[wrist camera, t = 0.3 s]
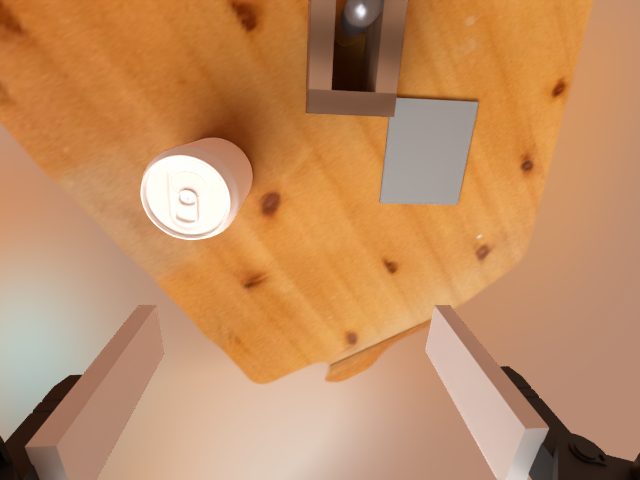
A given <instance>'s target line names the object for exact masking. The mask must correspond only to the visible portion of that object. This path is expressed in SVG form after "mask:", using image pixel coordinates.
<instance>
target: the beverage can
mask: <svg viewBox="0 0 640 480" xmlns="http://www.w3.org/2000/svg"><path fill="white" fill-rule="evenodd" d="M252 180H253V173H252V168H251V165H250V162H249V160H248V158H247V156H246V155H245V154H244V152H243V151H242V150H241V149H240V148H239V147H237V146H236V145H235V144H233V143H231V142H229V141H227V140H224V139H221V138H205V139H201V140H198V141H194V142H191V143H187V144H184V145H181V146H177V147H174V148H171V149H168V150H165V151H163V152H162V153H160V154H158V155H157V156H156V157H155V158H154V159H153V160H152V161H151V162H150V163H149V165H148V166H147V168H146V170H145V172H144V175H143V178H142V184H141V200H142V204H143V207H144V209H145V211H146V213H147V215H148V216H149V218H150V219H151V220H152V222H153V223H154V224H155V225H156V226H157V227H159V228H160V229H161V230H163V231H164V232H166V233H168V234H170V235H172V236H174V237H177V238H181V239H188V240H195V239H204V238H209V237H212V236H215V235H217V234H219V233H220V232H222V231H223V230H225V229H226V228H227V227H228V226H229V225H230V224H231V223H232V221H233V220H234V218H235V216H236V215H237V213H238V211H239V209H240V207H241V206H242V204H243V202H244V200H245V198H246V197H247V195H248V193H249V191H250V189H251V186H252Z"/></svg>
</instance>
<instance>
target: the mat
mask: <svg viewBox="0 0 640 480" xmlns="http://www.w3.org/2000/svg"><path fill="white" fill-rule="evenodd" d="M478 103H479V102H469V101H450V100H431V99H412V98H396V106H395V114H394V117H389V123H388V131H387V140H386V149H385V157H384V166H383V175H382V184H381V192H380V201H379V202H380V203H396V204H440V205H457V204H458V200H459V195H460V190H461V185H462V180H463V175H464V171H465V166H466V161H467V156H468V151H469V147H470V142H471V137H472V132H473V127H474V122H475V118H476V113H477V108H478Z"/></svg>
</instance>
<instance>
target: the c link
mask: <svg viewBox="0 0 640 480" xmlns="http://www.w3.org/2000/svg"><path fill="white" fill-rule="evenodd" d="M407 6H408V0H384V6H383V9H382V11H381V13H380V14H379V15H378V16H377V17H376V19H375V20H374V21H373V22H372V23H371V24H370V25H369V26H368V28H367V29H366V34H365V46H364V58H363V70H362V83H361V92H358V91H339V90H331V89H332V70H333V50H334V31H335V12H336V0H309V4H308V40H307V79H306V113H316V114H338V115H359V116H380V117H394V114H395V106H396V98H397V89H398V81H399V73H400V64H401V56H402V48H403V39H404V31H405V23H406V15H407Z"/></svg>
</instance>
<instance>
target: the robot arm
mask: <svg viewBox="0 0 640 480" xmlns="http://www.w3.org/2000/svg"><path fill="white" fill-rule="evenodd" d="M425 351H426V352H427V355H428V356H429V358H430V360H431V362H432V363H433V365H434V367H435V369H436V371H437V373H438V374H439V376H440V378H441V380H442V382H443V383H444V385H445V387H446V389H447V390H448V392H449V394H450V396H451V398H452V399H453V401H454V403H455V405H456V407H457V408H458V410H459V412H460V414H461V416H462V417H463V419H464V421H465V423H466V425H467V426H468V428H469V430H470V432H471V434H472V436H473V437H474V439H475V441H476V443H477V444H478V446H479V448H480V450H481V452H482V454H483V455H484V457H485V459H486V460H487V463H488V464H489V466H490V468H491V470H492V472H493V473H494V475H495V477H496V479H497V480H527V478H528V476H529V475H530V477H531V479H532V480H640V453H639V455H638V456H637V458H636V460H635V461H634V462H633V461H629V460H625V459H621V458H616V457H612V456H609V455H606V454H605V453H604V452H603V451H602V450H601V449H600V448H599V447H598V446H596V445H595V444H594V443H593V442H591V441H589V440H587V439H586V438H584V437H582V436H579V435H576V434H572V433H571V432H570V431H569V430H568V429H567V428H566V427H565V426H564V424H563V423H562V422H561V421H560V420H559V419H558V418H557V416H556V415H555V414H554V413H553V412H552V411H551V410H550V408H549V407H548V406H547V405H546V404H545V402H544V401H543V400H542V399H541V398H539V396H538V394H537V393H536V392H535V391H534V390H533V389H531V386H530V385H529V384H528V383H527V382H526V381H525V379H524V378H523V377H522V376H521V375H519V374H518V373H517V372H515V371H514V370H513V369H511V368H510V367H508V366H506V367H500V366H499V365H498V364H497V363H496V362H495V360H494V359H493V358H492V357H491V355H490V354H489V353H488V352H487V351H486V349H485V348H484V347H483V346H482V344H481V343H480V342H479V341H478V339H477V338H476V337H475V336H474V335H473V333H472V332H471V331H470V330H469V328H468V327H467V326H466V325H465V324H464V322H463V321H462V320H461V319H460V317H459V316H458V315H457V314H456V312H455V311H454V310H453V309H452V307H451V306H450V305H435V307H434V311H433V316H432V321H431V326H430V330H429V335H428V340H427V344H426V349H425ZM163 355H164V350H163V344H162V338H161V331H160V325H159V319H158V313H157V306H156V305H139V306H138V307H137V308H136V309H135V310H134V312H133V313H132V314H131V315H130V317H129V318H128V319H127V320H126V322H125V323H124V324H123V325H122V327H121V328H120V329H119V330H118V332H117V333H116V334H115V335H114V337H113V338H112V339H111V340H110V342H109V343H108V344H107V345H106V347H105V348H104V349H103V350H102V351H101V353H100V354H99V355H98V357H97V358H96V359H95V360H94V362H93V363H92V364H91V365H90V366H89V368H88V369H87V370H86V372H85V373H84V374H83V375H70V376H68V377H67V378H65V379H64V380H62V381H61V382H60V383H58V384H57V385H55V386H54V387H53V388H52V389H51V391H50V392H49V393H48V394H47V395H46V396H45V397H44V399H43V400H42V402H40V403H39V404H38V405H37V407H36V408H35V409H34V410H33V413H31V414H30V415H29V416H28V417H27V418H26V419H25V420H24V421H23V423H22V424H21V425H20V426H19V427H18V428H17V430H16V431H15V432H14V433H13V434H12V435H11V436H10V438H9V439H8V440H7V441H6V442H5V443H4V441H3V439H2V438H1V436H0V480H97V478H98V476H99V474H100V472H101V470H102V469H103V467H104V465H105V463H106V461H107V459H108V457H109V455H110V453H111V452H112V450H113V448H114V446H115V444H116V442H117V440H118V439H119V437H120V435H121V433H122V431H123V429H124V427H125V426H126V424H127V422H128V420H129V418H130V416H131V414H132V412H133V411H134V409H135V407H136V405H137V403H138V401H139V400H140V398H141V396H142V394H143V392H144V390H145V388H146V386H147V384H148V382H149V381H150V379H151V377H152V375H153V373H154V372H155V370H156V368H157V365H158V364H159V362H160V360H161V359H162V357H163Z"/></svg>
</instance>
